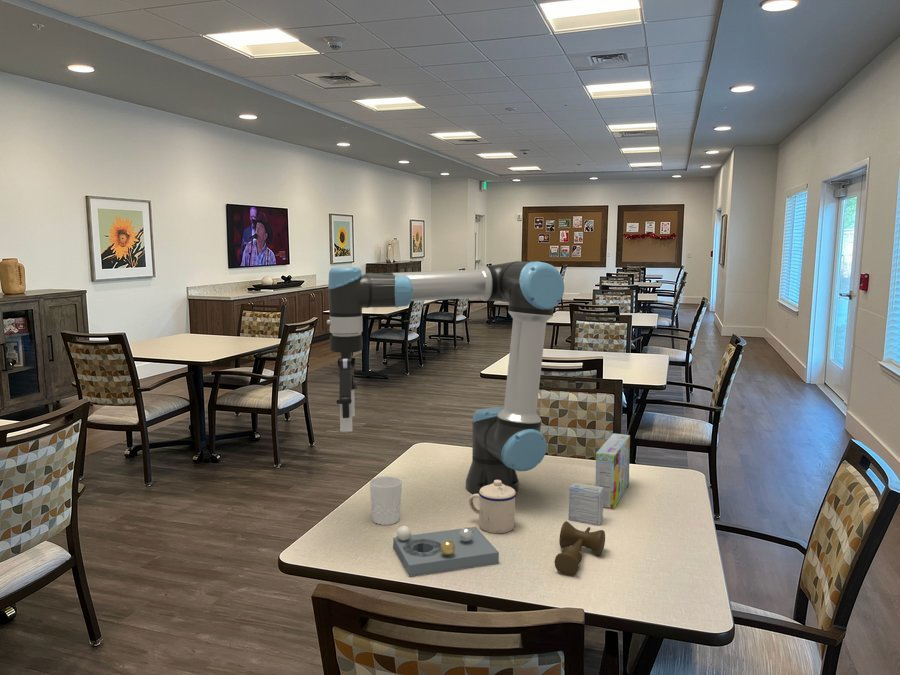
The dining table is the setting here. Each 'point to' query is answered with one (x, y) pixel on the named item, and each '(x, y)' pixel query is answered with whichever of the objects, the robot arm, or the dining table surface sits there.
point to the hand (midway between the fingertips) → (347, 423)
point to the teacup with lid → (495, 507)
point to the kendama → (576, 547)
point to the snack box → (613, 468)
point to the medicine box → (586, 503)
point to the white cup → (386, 499)
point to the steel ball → (466, 534)
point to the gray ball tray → (427, 558)
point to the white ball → (404, 533)
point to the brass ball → (447, 548)
